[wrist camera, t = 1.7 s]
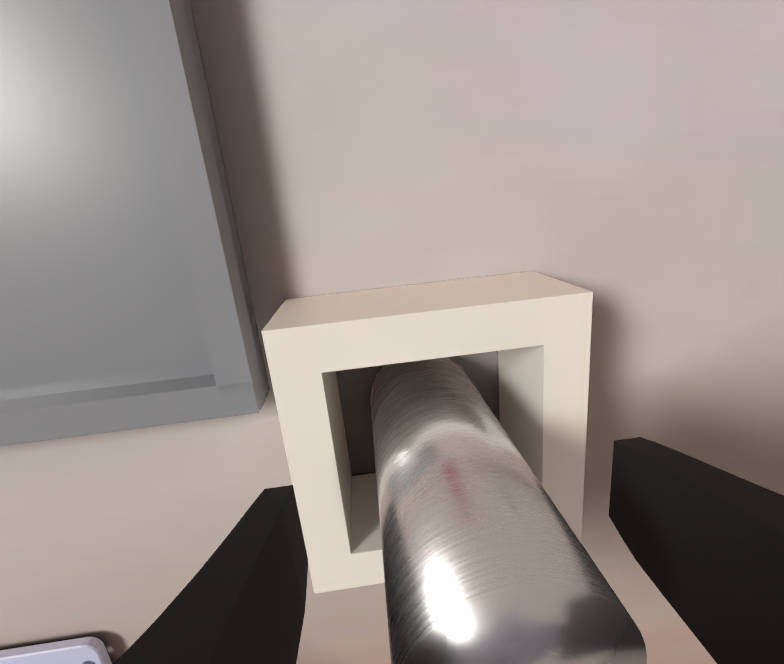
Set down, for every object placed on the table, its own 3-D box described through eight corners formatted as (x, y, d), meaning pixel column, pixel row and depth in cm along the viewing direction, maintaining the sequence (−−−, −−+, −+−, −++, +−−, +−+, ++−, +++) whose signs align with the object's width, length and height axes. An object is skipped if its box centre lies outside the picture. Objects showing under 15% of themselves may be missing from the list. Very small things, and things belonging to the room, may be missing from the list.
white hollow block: (532, 478, 16) (580, 552, 12) (323, 508, 15) (314, 593, 12) (532, 271, 13) (592, 292, 10) (286, 299, 13) (261, 331, 9)
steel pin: (472, 434, 15) (636, 750, 6) (376, 448, 15) (406, 790, 6) (468, 343, 14) (658, 568, 5) (364, 356, 14) (380, 611, 5)
